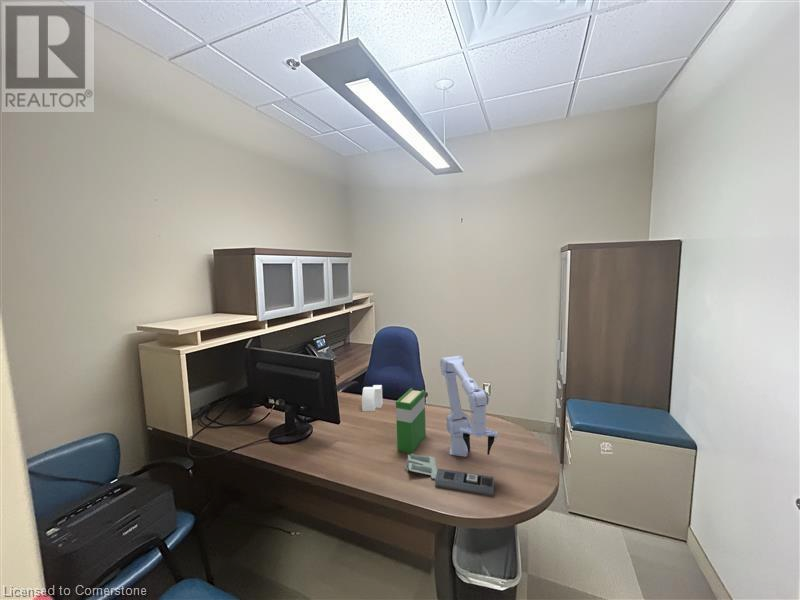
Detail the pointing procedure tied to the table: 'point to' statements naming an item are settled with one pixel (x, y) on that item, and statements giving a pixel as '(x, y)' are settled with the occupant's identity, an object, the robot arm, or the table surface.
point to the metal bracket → (422, 465)
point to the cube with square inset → (472, 479)
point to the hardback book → (410, 420)
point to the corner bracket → (372, 398)
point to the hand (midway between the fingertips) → (478, 452)
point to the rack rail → (457, 482)
